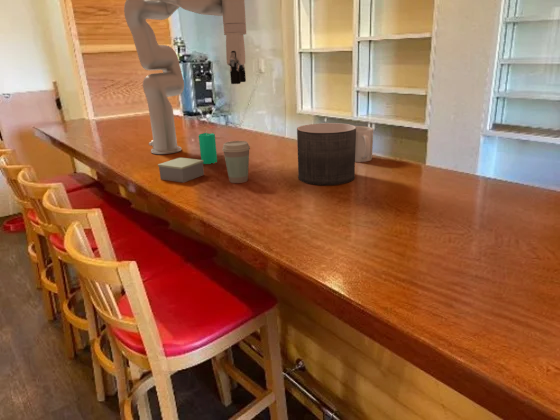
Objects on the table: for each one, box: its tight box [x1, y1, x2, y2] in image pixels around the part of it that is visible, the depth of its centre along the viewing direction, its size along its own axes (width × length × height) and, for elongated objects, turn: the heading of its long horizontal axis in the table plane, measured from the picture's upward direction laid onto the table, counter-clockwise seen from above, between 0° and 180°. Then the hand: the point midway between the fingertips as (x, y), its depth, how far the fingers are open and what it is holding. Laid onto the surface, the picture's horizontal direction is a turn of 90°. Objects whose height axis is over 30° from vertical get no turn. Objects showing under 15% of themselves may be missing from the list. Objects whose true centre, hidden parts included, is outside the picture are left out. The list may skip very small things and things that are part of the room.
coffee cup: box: [222, 140, 251, 184], centre depth 131 cm, size 8×9×12 cm
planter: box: [296, 122, 357, 186], centre depth 130 cm, size 18×18×16 cm
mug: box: [355, 126, 374, 163], centre depth 152 cm, size 10×12×11 cm
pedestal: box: [157, 157, 205, 184], centre depth 139 cm, size 10×10×5 cm
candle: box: [198, 129, 218, 165], centre depth 156 cm, size 6×6×12 cm
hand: (238, 82), depth 148 cm, fingers open, 9 cm apart
